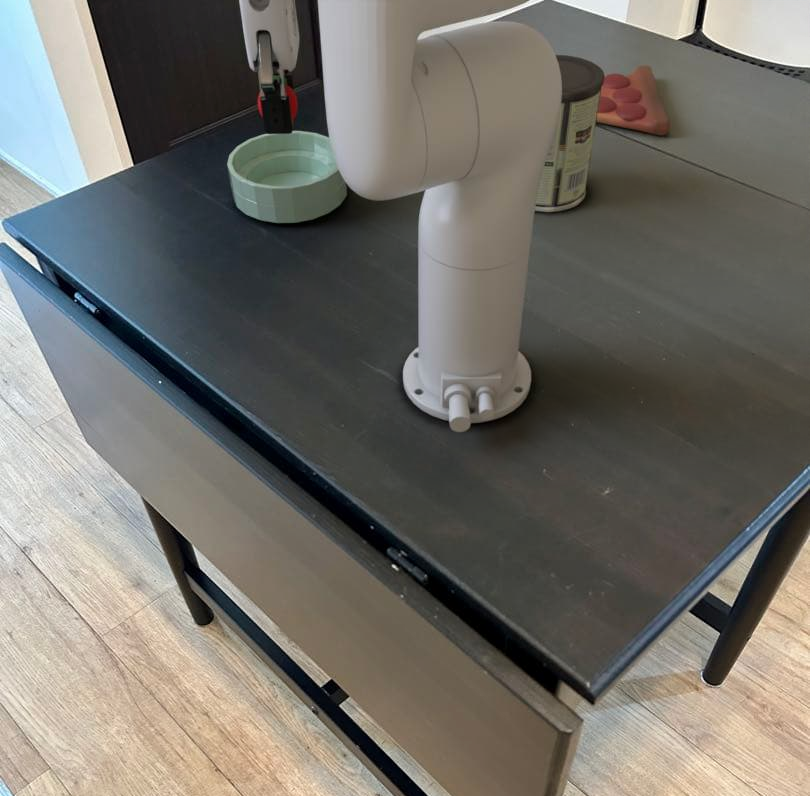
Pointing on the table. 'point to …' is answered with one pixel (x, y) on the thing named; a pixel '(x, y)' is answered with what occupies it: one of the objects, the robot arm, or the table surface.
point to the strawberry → (291, 97)
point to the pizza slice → (633, 102)
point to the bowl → (286, 177)
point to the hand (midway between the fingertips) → (280, 120)
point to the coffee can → (571, 136)
